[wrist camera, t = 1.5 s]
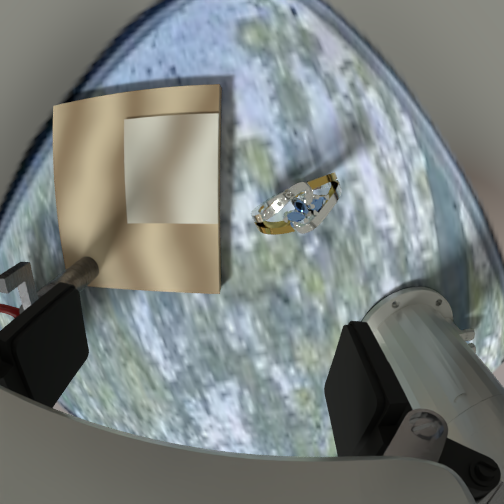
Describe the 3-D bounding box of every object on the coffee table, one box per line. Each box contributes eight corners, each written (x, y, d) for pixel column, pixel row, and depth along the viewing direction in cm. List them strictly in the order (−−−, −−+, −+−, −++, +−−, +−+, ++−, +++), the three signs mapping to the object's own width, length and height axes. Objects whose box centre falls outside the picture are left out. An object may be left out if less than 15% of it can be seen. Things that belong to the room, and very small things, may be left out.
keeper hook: (93, 228, 26) (11, 279, 15) (100, 280, 28) (32, 349, 16) (73, 228, 26) (-11, 277, 15) (80, 278, 28) (10, 343, 16)
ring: (320, 160, 25) (346, 166, 18) (333, 194, 26) (362, 213, 19) (245, 191, 26) (240, 209, 19) (260, 224, 27) (261, 255, 20)
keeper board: (221, 87, 23) (219, 83, 22) (221, 286, 29) (219, 295, 28) (61, 107, 24) (51, 105, 22) (75, 278, 29) (67, 285, 28)
